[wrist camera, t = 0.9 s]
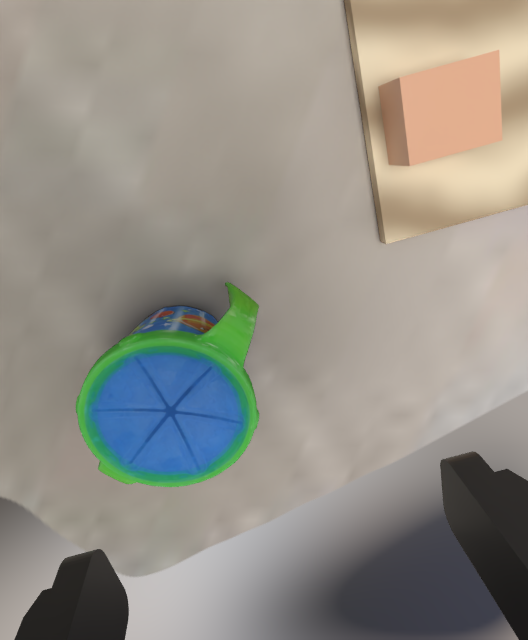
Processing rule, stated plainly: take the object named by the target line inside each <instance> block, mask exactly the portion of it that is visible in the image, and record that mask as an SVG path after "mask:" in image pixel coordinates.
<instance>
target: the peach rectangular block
mask: <svg viewBox="0 0 528 640" xmlns="http://www.w3.org/2000/svg"><path fill="white" fill-rule="evenodd" d="M378 88H379V95H380V103H381V110H382V118H383V125H384V133H385V140H386V147H387V155H388V162H389V165H397V166H412V165H416V164H420V163H423V162H427V161H430V160H434V159H438V158H441V157H445V156H448V155H452V154H456V153H459V152H463V151H466V150H470V149H473V148H477V147H481V146H484V145H488V144H491V143H495V142H499V141H502V113H501V84H500V56H499V50H496V51H493V52H489V53H485V54H482V55H478V56H475V57H471V58H467V59H464V60H460V61H457V62H453V63H450V64H446V65H442V66H439V67H435V68H432V69H428V70H424V71H421V72H417V73H414V74H410V75H407V76H403V77H399V78H397V79H395V80H392V81H390V82H388V83H385V84H383V85H381V86H378Z"/></svg>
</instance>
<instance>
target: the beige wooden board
mask: <svg viewBox="0 0 528 640" xmlns="http://www.w3.org/2000/svg"><path fill="white" fill-rule="evenodd" d="M344 4H345V10H346V17H347V23H348V30H349V37H350V43H351V50H352V56H353V63H354V70H355V76H356V83H357V89H358V96H359V103H360V109H361V116H362V123H363V129H364V136H365V142H366V149H367V156H368V162H369V169H370V175H371V182H372V189H373V195H374V202H375V208H376V215H377V222H378V228H379V235H380V241H381V242H383V243H385V244H389V243H392V242H396V241H399V240H403V239H407V238H410V237H414V236H417V235H421V234H425V233H428V232H432V231H435V230H439V229H442V228H446V227H450V226H453V225H457V224H460V223H464V222H468V221H471V220H475V219H478V218H482V217H485V216H489V215H493V214H496V213H500V212H503V211H507V210H511V209H514V208H518V207H521V206H525V205H528V0H344ZM496 50H499V56H500V84H501V113H502V141H499V142H495V143H491V144H488V145H484V146H481V147H477V148H473V149H470V150H466V151H463V152H459V153H456V154H452V155H448V156H445V157H441V158H438V159H434V160H430V161H427V162H423V163H420V164H416V165H412V166H397V165H389V162H388V155H387V147H386V140H385V133H384V125H383V118H382V110H381V103H380V95H379V88H378V86H381V85H383V84H385V83H388V82H390V81H392V80H395V79H397V78H399V77H403V76H407V75H410V74H414V73H417V72H421V71H424V70H428V69H432V68H435V67H439V66H442V65H446V64H450V63H453V62H457V61H460V60H464V59H467V58H471V57H475V56H478V55H482V54H485V53H489V52H493V51H496Z"/></svg>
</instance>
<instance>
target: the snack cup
mask: <svg viewBox="0 0 528 640" xmlns="http://www.w3.org/2000/svg"><path fill="white" fill-rule="evenodd" d="M225 285H226V286H227V287H228V294H229V302H230V308H229V309H228V310H227V312H226V313H225V314H224V316H223V317H222V318H221V320H220V321H219V322H217V320H216V319H215V318H214V317H213V316H212V315H210V314H208V313H206V312H205V311H200V310H198V309H195V308H191V307H187V306H175V307H169V308H167V307H165V308H163V309H161V310H158V311H156V312H155V313H153V314H152V315H150V316H149V317H147V318H146V319H145V320H144V321H143V322H142V323H141V324H140V325H139V326H138V327H137V328H136V329H135V330H134V331H133V332H132V333H131V334H130V335H129V336H127V337H125V338H123V339H122V340H121V341H119V343H118V344H116V345H114V346H113V347H112V348H110V349H109V350H108V351H107V352H105V353H104V354H103V355H102V356H101V357H100V358H99V359H98V360H97V362H96V363H95V364H94V366H93V367H92V368H91V370H90V371H89V373H88V375H87V377H86V379H85V381H84V383H83V386H82V389H81V392H80V395H79V396H78V397H77V401H76V413H77V415H78V422H79V427H80V430H81V433H82V436H83V438H84V440H85V442H86V444H87V445H88V447H89V448H90V450H91V451H92V453H93V454H94V455H95V456H96V457H97V458H98V459H99V460H100V462H99V467H98V470H100V471H101V472H103V473H104V474H106V475H108V476H110V477H112V478H114V479H116V480H118V481H120V482H123V483H125V484H133V483H136V482H138V483H142V484H146V485H151V486H160V487H179V486H187V485H191V484H195V483H199V482H202V481H205V480H207V479H209V478H212V477H214V476H216V475H218V474H220V473H221V472H223V471H224V470H226V469H227V468H228V467H230V466H231V465H232V464H233V463H235V462H236V461H237V460H238V459H239V457H240V456H241V455H242V454H243V452H244V451H245V449H246V448H247V446H248V444H249V443H250V441H251V438H252V436H253V433H254V430H255V429H256V428H257V424H258V421H259V412H258V410H257V408H256V399H255V394H254V390H253V387H252V383H251V381H250V378H249V376H248V374H247V373H246V371H245V369H244V368H243V366H244V361H245V357H246V355H247V352H248V348H249V345H250V342H251V339H252V335H253V332H254V328H255V323H256V316H257V311H258V308H259V305H258V304H257V303H256V302H255V301H253V300H252V299H251V298H250V297H249V296H247V295H246V294H245V293H243V292H242V291H241V290H240V289H238V288H237V287H235V286H234V285H232V284H231V283H229V282H227V283H225Z"/></svg>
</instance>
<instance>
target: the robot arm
mask: <svg viewBox="0 0 528 640" xmlns="http://www.w3.org/2000/svg"><path fill="white" fill-rule="evenodd" d="M440 467H441V480H442V493H443V505H444V511H445V514H446V518H447V520H448V523H449V525H450V527H451V530H452V532H453V533H454V535H455V537H456V538H457V540H458V542H459V543H460V545H461V547H462V548H463V550H464V552H465V553H466V555H467V556H468V558H469V560H470V561H471V563H472V564H473V566H474V568H475V569H476V571H477V573H478V574H479V576H480V577H481V579H482V580H483V582H484V584H485V586H486V587H487V589H488V590H489V592H490V594H491V595H492V597H493V598H494V600H495V602H496V603H497V605H498V607H499V608H500V610H501V611H502V613H503V615H504V616H505V618H506V619H507V621H508V623H509V624H510V626H511V628H512V629H513V631H514V632H515V634H516V636H517V637H518V639H519V640H528V481H527V480H525V479H524V478H522V477H520V476H518V475H517V474H515V473H513V472H512V471H510V470H508V469H505V470H501V471H497V472H494V471H493V470H492V469H491V468H490V467H489V465H488V464H487V463H486V462H485V461H484V460H483V458H482V457H481V456H480V455H479V454H477V453H476V452H469V453H465V454H461V455H458V456H454V457H450V458H446V459H443V460H441V463H440ZM128 615H129V608H128V599H127V594H126V592H125V589H124V587H123V585H122V583H121V582H120V580H119V578H118V576H117V574H116V573H115V571H114V569H113V567H112V566H111V564H110V562H109V560H108V558H107V557H106V555H105V553H104V552H103V551H102V550H101V549H97V550H93V551H90V552H86V553H82V554H78V555H75V556H71V557H67V558H65V559H64V560H63V562H62V563H61V565H60V567H59V570H58V572H57V575H56V578H55V581H54V583H53V586H52V588H50V589H47V590H43V591H42V592H41V593H40V595H39V596H38V598H37V599H36V601H35V602H34V603H33V605H32V606H31V608H30V609H29V610H28V612H27V613H26V615H25V616H24V617H23V620H22V622H21V625H20V627H19V630H18V632H17V635H16V637H15V640H125V635H126V629H127V624H128Z"/></svg>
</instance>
